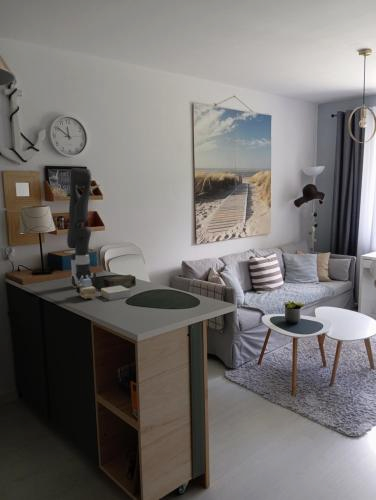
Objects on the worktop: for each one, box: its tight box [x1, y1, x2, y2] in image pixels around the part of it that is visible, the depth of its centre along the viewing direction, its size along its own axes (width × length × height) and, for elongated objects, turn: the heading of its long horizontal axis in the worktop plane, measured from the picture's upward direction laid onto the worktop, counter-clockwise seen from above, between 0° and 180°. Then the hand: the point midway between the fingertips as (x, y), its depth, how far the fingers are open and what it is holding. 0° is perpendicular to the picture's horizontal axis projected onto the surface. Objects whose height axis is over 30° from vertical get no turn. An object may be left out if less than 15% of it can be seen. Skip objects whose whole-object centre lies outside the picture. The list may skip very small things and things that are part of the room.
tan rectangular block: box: [76, 284, 96, 300], centre depth 224 cm, size 14×6×5 cm, turn 33°
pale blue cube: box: [81, 277, 93, 288], centre depth 222 cm, size 4×4×4 cm
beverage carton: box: [102, 274, 137, 288], centre depth 247 cm, size 8×19×7 cm, turn 127°
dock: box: [100, 285, 131, 301], centre depth 225 cm, size 13×12×4 cm
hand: (84, 292), depth 226 cm, fingers closed on tan rectangular block, 6 cm apart
